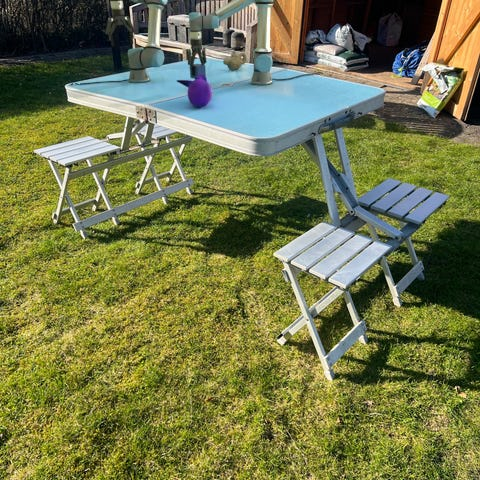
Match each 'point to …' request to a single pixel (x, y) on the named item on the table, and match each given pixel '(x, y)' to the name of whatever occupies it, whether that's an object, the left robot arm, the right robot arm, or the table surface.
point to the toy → (198, 91)
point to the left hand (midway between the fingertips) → (122, 45)
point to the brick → (198, 70)
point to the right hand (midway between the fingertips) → (197, 74)
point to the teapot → (235, 61)
